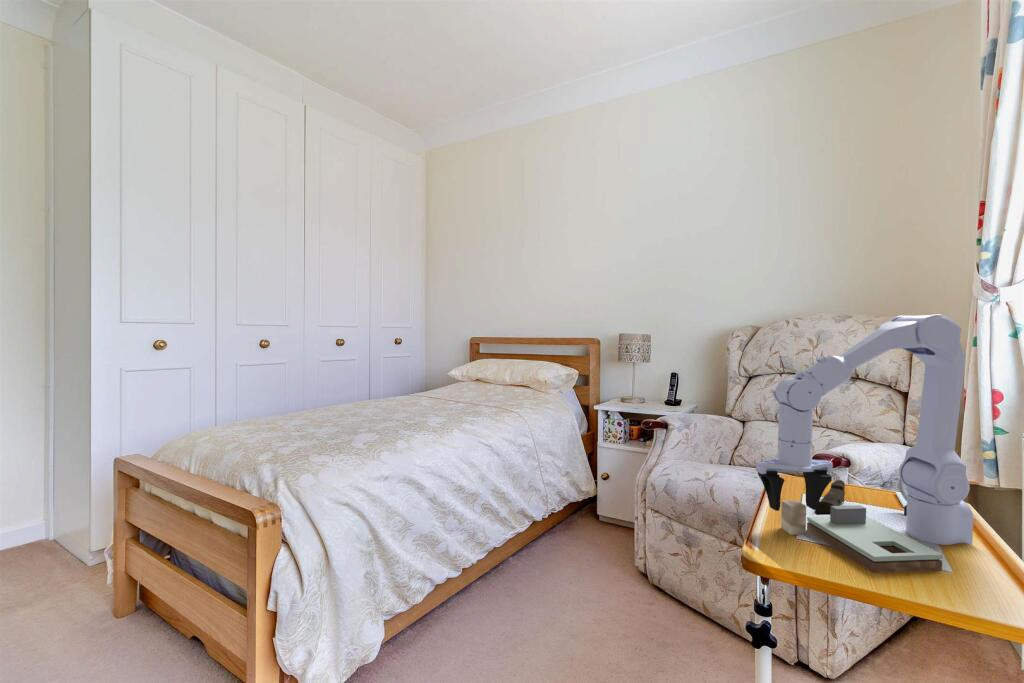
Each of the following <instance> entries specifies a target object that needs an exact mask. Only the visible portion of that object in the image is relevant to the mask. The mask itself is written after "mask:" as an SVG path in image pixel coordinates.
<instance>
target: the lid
mask: <svg viewBox="0 0 1024 683" xmlns="http://www.w3.org/2000/svg"><path fill="white" fill-rule="evenodd" d="M806 522H810V523H811V524H813V525H815V526H816V527H818V528H820V529H821V530H823V531H825V532H826V533H828V534H830V535H831V536H833V537H834V538H836V539H838V540H839V541H841V542H843V543H844V544H846V545H848V546H849V547H851V548H853V549H854V550H856V551H858V552H859V553H861V554H863V555H864V556H866V557H867V558H869V559H871V560H872V561H903V560H933V559H940V560H943V554H942V553H941V552H938V551H937V550H935V549H933V548H930V547H928V546H927V545H925V544H923V543H920V542H919V541H916V540H914V539H912V538H911V537H909V536H907V535H904V534H903V533H901V532H899V531H896V530H895V529H893V528H891V527H889V526H887V525H885V524H882V523H881V522H879V521H877V520H875V519H873V518H871V517H869V516H867V507H865V506H863V505H861V504H857V505H840V506H831V508H830V515H829V516H828V515H827V516H826V515H824V516H806ZM880 546H895V547H897V548H899V549H901V550H903V551H905V552H907V553H890V552H889V551H887V550H885V549H883V548H881V547H880Z"/></svg>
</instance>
